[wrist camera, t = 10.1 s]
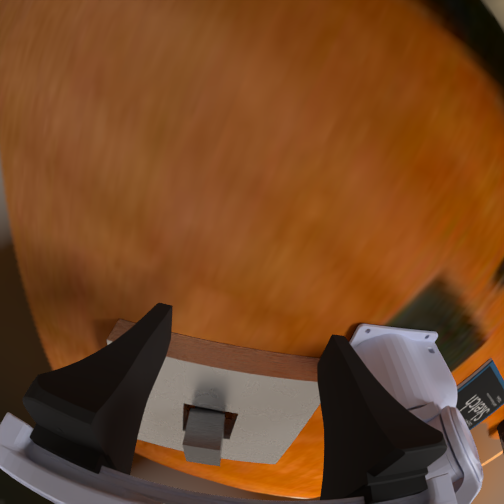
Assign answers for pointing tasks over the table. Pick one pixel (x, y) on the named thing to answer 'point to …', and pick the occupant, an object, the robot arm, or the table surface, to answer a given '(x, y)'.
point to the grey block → (204, 436)
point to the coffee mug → (501, 433)
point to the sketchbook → (480, 394)
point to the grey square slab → (230, 395)
